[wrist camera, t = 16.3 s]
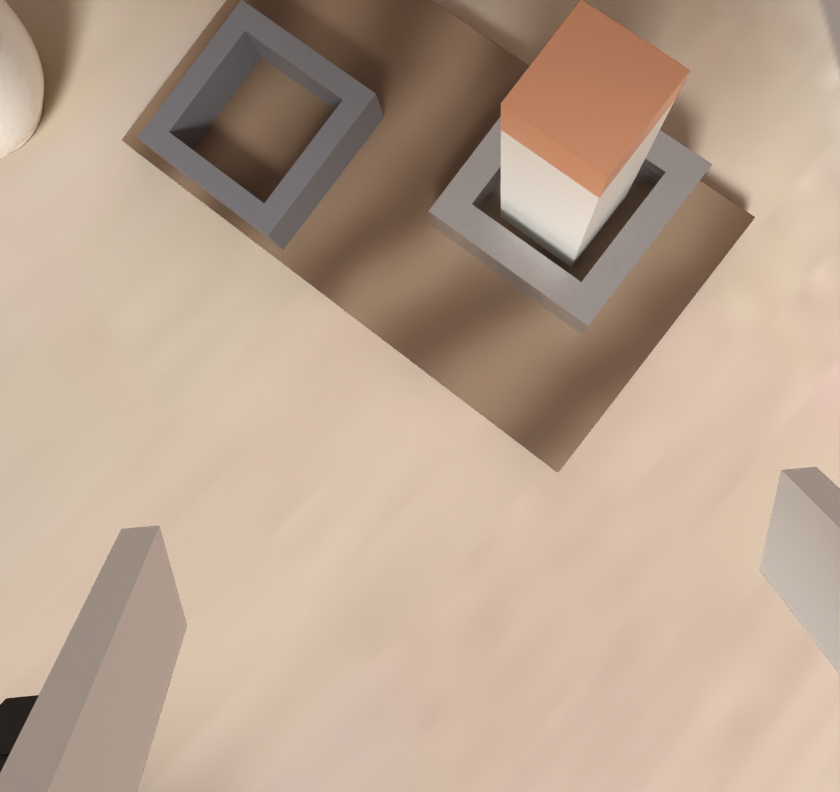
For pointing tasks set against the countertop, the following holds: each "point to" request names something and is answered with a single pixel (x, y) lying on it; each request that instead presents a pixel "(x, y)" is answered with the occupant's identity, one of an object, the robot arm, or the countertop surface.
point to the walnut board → (412, 227)
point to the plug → (581, 129)
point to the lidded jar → (18, 83)
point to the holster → (215, 86)
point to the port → (533, 272)
